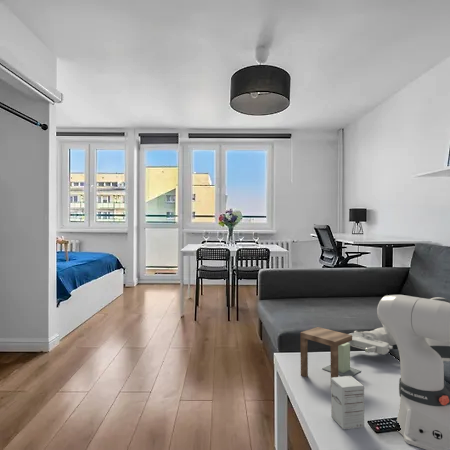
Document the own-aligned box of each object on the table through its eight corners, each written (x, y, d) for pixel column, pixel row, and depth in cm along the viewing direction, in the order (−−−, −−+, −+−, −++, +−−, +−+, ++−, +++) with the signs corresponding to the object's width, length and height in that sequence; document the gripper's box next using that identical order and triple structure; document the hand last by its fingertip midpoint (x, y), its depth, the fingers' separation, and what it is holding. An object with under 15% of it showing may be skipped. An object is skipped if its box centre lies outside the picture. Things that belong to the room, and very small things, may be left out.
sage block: (350, 369, 148) (349, 343, 148) (343, 372, 145) (343, 345, 145) (339, 366, 152) (339, 340, 152) (332, 369, 149) (332, 343, 149)
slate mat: (361, 371, 147) (361, 370, 147) (348, 378, 140) (348, 377, 140) (335, 363, 156) (335, 362, 156) (322, 369, 150) (322, 368, 150)
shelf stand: (352, 379, 139) (352, 335, 139) (335, 389, 131) (335, 341, 131) (318, 367, 151) (317, 326, 151) (300, 375, 143) (300, 332, 144)
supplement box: (330, 417, 112) (330, 377, 112) (352, 414, 113) (351, 375, 113) (342, 430, 104) (342, 387, 105) (365, 427, 106) (364, 385, 106)
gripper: (394, 353, 157) (379, 361, 148) (352, 342, 173) (336, 349, 164) (394, 339, 157) (379, 346, 148) (352, 329, 173) (336, 335, 164)
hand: (356, 347), depth 156 cm, fingers open, 8 cm apart
